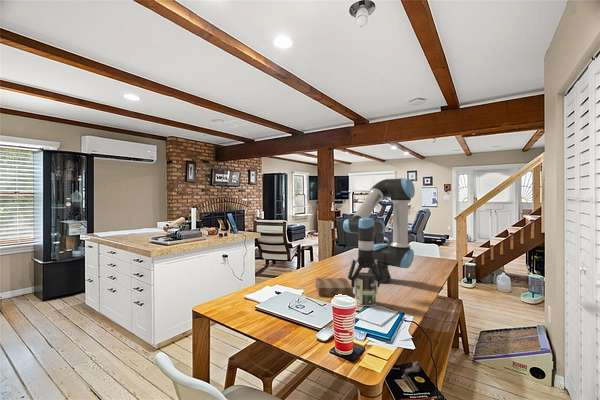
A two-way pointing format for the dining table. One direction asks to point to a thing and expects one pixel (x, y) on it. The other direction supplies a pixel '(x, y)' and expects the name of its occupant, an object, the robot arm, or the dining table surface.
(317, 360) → the dining table surface
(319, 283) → the walnut block
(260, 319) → the dining table surface
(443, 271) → the dining table surface
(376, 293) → the robot arm
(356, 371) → the dining table surface
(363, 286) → the coffee can
